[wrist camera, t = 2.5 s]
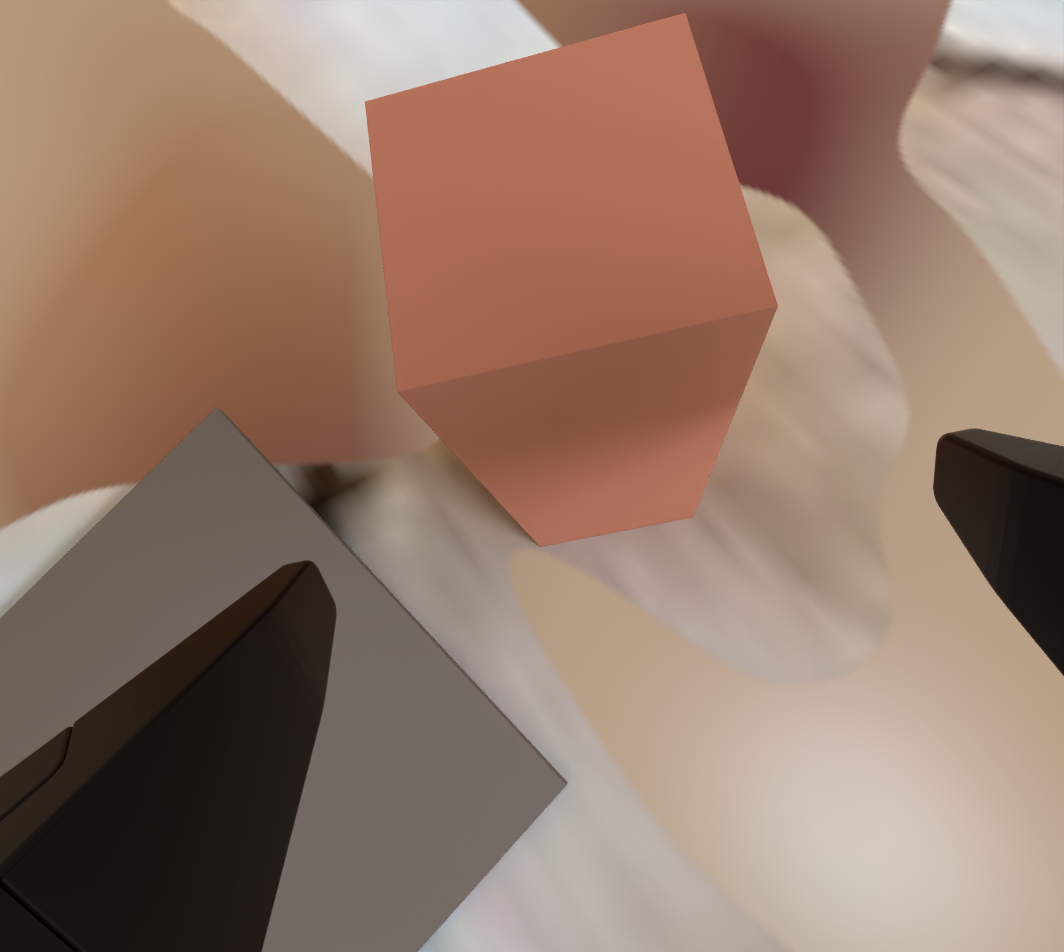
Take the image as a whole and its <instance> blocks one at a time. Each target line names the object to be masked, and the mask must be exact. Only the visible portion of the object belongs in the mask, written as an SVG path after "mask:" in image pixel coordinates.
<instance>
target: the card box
mask: <svg viewBox="0 0 1064 952" xmlns="http://www.w3.org/2000/svg"><path fill="white" fill-rule="evenodd" d="M365 107H366V116H367V125H368V134H369V143H370V152H371V161H372V170H373V179H374V187H375V196H376V206H377V215H378V224H379V232H380V242H381V251H382V259H383V268H384V277H385V286H386V295H387V303H388V313H389V322H390V331H391V340H392V348H393V357H394V367H395V375H396V384H397V392H398V393H399V394H400V395H401V396H402V397H403V399H404V400H405V401H406V402H407V403H408V404H409V405H410V406H411V407H412V408H413V409H414V411H415V412H416V413H417V414H418V415H419V416H420V417H421V418H422V419H423V420H424V421H425V422H426V423H427V425H428V426H429V427H430V428H431V429H432V430H433V431H434V432H435V433H436V434H437V436H438V437H439V438H440V439H441V440H442V441H443V442H444V443H445V444H446V445H447V446H448V447H449V449H450V450H451V451H452V452H453V453H454V454H455V455H456V456H457V457H458V458H459V459H460V460H461V462H462V463H463V464H464V465H465V466H466V467H467V468H468V469H469V470H470V471H471V472H472V474H473V475H474V476H475V477H476V478H477V479H478V480H479V481H480V482H481V483H482V484H483V485H484V487H485V488H486V489H487V490H488V491H489V492H490V493H491V494H492V495H493V496H494V497H495V498H496V500H497V501H498V502H499V503H500V504H501V505H502V506H503V507H504V508H505V509H506V510H507V512H508V513H509V514H510V515H511V516H512V517H513V518H514V519H515V520H516V521H517V522H518V523H519V525H520V526H521V527H522V528H523V529H524V530H525V531H526V532H527V533H528V534H529V535H530V536H531V538H532V539H533V540H534V541H535V542H536V543H537V544H538V545H539V546H540V547H541V546H546V545H551V544H556V543H561V542H567V541H572V540H577V539H582V538H587V537H593V536H598V535H603V534H608V533H613V532H618V531H624V530H629V529H634V528H639V527H644V526H649V525H655V524H660V523H665V522H670V521H675V520H681V519H686V518H691V517H693V515H694V513H695V510H696V508H697V505H698V503H699V500H700V498H701V495H702V493H703V490H704V488H705V485H706V483H707V480H708V478H709V476H710V473H711V471H712V468H713V466H714V463H715V461H716V458H717V456H718V453H719V451H720V448H721V446H722V443H723V441H724V438H725V436H726V433H727V431H728V428H729V426H730V423H731V421H732V419H733V416H734V414H735V411H736V409H737V406H738V404H739V401H740V399H741V396H742V394H743V391H744V389H745V386H746V384H747V381H748V379H749V376H750V374H751V371H752V369H753V366H754V364H755V362H756V359H757V357H758V354H759V352H760V349H761V347H762V344H763V342H764V339H765V337H766V334H767V332H768V329H769V327H770V324H771V322H772V319H773V317H774V314H775V312H776V310H777V307H778V305H777V302H776V299H775V296H774V293H773V289H772V286H771V283H770V280H769V277H768V274H767V270H766V267H765V264H764V261H763V258H762V255H761V251H760V248H759V245H758V242H757V239H756V236H755V232H754V229H753V226H752V223H751V220H750V217H749V213H748V210H747V207H746V204H745V201H744V198H743V194H742V191H741V188H740V185H739V182H738V179H737V175H736V172H735V169H734V166H733V163H732V160H731V157H730V153H729V150H728V147H727V144H726V141H725V137H724V134H723V131H722V128H721V125H720V122H719V119H718V115H717V112H716V109H715V106H714V103H713V100H712V97H711V93H710V90H709V87H708V84H707V81H706V77H705V74H704V71H703V68H702V65H701V62H700V59H699V55H698V52H697V49H696V46H695V43H694V40H693V36H692V33H691V30H690V27H689V24H688V21H687V17H686V14H685V13H683V14H680V15H676V16H673V17H669V18H666V19H662V20H658V21H654V22H651V23H647V24H643V25H640V26H637V27H633V28H629V29H625V30H622V31H618V32H615V33H611V34H607V35H604V36H600V37H597V38H593V39H590V40H586V41H582V42H579V43H575V44H571V45H568V46H564V47H561V48H557V49H553V50H550V51H546V52H543V53H539V54H535V55H532V56H528V57H525V58H521V59H517V60H514V61H510V62H506V63H503V64H499V65H496V66H492V67H488V68H485V69H481V70H478V71H474V72H470V73H467V74H463V75H460V76H456V77H452V78H449V79H445V80H442V81H438V82H434V83H431V84H427V85H424V86H420V87H416V88H413V89H409V90H406V91H402V92H398V93H395V94H391V95H388V96H384V97H380V98H377V99H373V100H369V101H366V102H365Z"/></svg>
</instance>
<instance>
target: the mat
mask: <svg viewBox="0 0 1064 952" xmlns="http://www.w3.org/2000/svg"><path fill="white" fill-rule="evenodd" d="M304 560H310V561H312V562H314V563H315V564H316V565H317V567H318V568H319V570H320V573H321V575H322V577H323V579H324V581H325V583H326V585H327V587H328V589H329V591H330V593H331V595H332V597H333V599H334V601H335V605H336V610H337V617H336V625H335V632H334V640H333V647H332V654H331V662H330V669H329V676H328V684H327V691H326V697H325V703H324V708H323V712H322V716H321V721H320V725H319V729H318V733H317V737H316V741H315V745H314V749H313V752H312V756H311V760H310V764H309V768H308V772H307V776H306V780H305V784H304V788H303V792H302V796H301V800H300V804H299V808H298V812H297V815H296V819H295V823H294V827H293V831H292V835H291V839H290V843H289V847H288V851H287V855H286V859H285V863H284V867H283V871H282V875H281V879H280V882H279V886H278V890H277V894H276V898H275V902H274V906H273V910H272V914H271V918H270V922H269V926H268V930H267V934H266V938H265V942H264V946H263V949H262V952H418V951H419V950H420V948H421V947H422V946H423V945H424V944H425V943H426V942H427V941H428V939H429V938H430V937H431V936H432V935H433V934H434V933H435V932H436V930H437V929H438V928H439V927H440V926H441V925H442V924H443V923H444V922H445V920H446V919H447V918H448V917H449V916H450V915H451V914H452V913H453V911H454V910H455V909H456V908H457V907H458V906H459V905H460V904H461V902H462V901H463V900H464V899H465V898H466V897H467V896H468V895H469V893H470V892H471V891H472V890H473V889H474V888H475V887H476V886H477V885H478V883H479V882H480V881H481V880H482V879H483V878H484V877H485V876H486V874H487V873H488V872H489V871H490V870H491V869H492V868H493V867H494V865H495V864H496V863H497V862H498V861H499V860H500V859H501V858H502V857H503V855H504V854H505V853H506V852H507V851H508V850H509V849H510V848H511V846H512V845H513V844H514V843H515V842H516V841H517V840H518V839H519V837H520V836H521V835H522V834H523V833H524V832H525V831H526V830H527V829H528V827H529V826H530V825H531V824H532V823H533V822H534V821H535V820H536V818H537V817H538V816H539V815H540V814H541V813H542V812H543V811H544V809H545V808H546V807H547V806H548V805H549V804H550V803H551V802H552V800H553V799H554V798H555V797H556V796H557V795H558V794H559V793H560V792H561V790H562V789H563V788H564V787H565V786H566V784H567V781H566V780H565V779H564V778H563V777H562V776H561V775H560V774H559V773H558V772H557V771H556V770H555V769H554V768H553V766H552V765H551V764H550V763H549V762H548V761H547V760H546V759H545V758H544V757H543V756H542V755H541V754H540V752H539V751H538V750H537V749H536V748H535V747H534V746H533V745H532V744H531V743H530V742H529V741H528V740H527V738H526V737H525V736H524V735H523V734H522V733H521V732H520V731H519V730H518V729H517V728H516V727H515V726H514V724H513V723H512V722H511V721H510V720H509V719H508V718H507V717H506V716H505V715H504V714H503V713H502V712H501V710H500V709H499V708H498V707H497V706H496V705H495V704H494V703H493V702H492V701H491V700H490V699H489V698H488V696H487V695H486V694H485V693H484V692H483V691H482V690H481V689H480V688H479V687H478V686H477V685H476V684H475V682H474V681H473V680H472V679H471V678H470V677H469V676H468V675H467V674H466V673H465V672H464V671H463V670H462V668H461V667H460V666H459V665H458V664H457V663H456V662H455V661H454V660H453V659H452V658H451V657H450V656H449V655H448V653H447V652H446V651H445V650H444V649H443V648H442V647H441V646H440V645H439V644H438V643H437V642H436V641H435V639H434V638H433V637H432V636H431V635H430V634H429V633H428V632H427V631H426V630H425V629H424V628H423V627H422V625H421V624H420V623H419V622H418V621H417V620H416V619H415V618H414V617H413V616H412V615H411V614H410V613H409V611H408V610H407V609H406V608H405V607H404V606H403V605H402V604H401V603H400V602H399V601H398V600H397V599H396V597H395V596H394V595H393V594H392V593H391V592H390V591H389V590H388V589H387V588H386V587H385V586H384V585H383V583H382V582H381V581H380V580H379V579H378V578H377V577H376V576H375V575H374V574H373V573H372V572H371V571H370V569H369V568H368V567H367V566H366V565H365V564H364V563H363V562H362V561H361V560H360V559H359V558H358V557H357V555H356V554H355V553H354V552H353V551H352V550H351V549H350V548H349V547H348V546H347V545H346V544H345V543H344V542H343V540H342V539H341V538H340V537H339V536H338V535H337V534H336V533H335V532H334V531H333V530H332V529H331V528H330V526H329V525H328V524H327V523H326V522H325V521H324V520H323V519H322V518H321V517H320V516H319V515H318V514H317V512H316V511H315V510H314V509H313V508H312V507H311V506H310V505H309V504H308V503H307V502H306V501H305V500H304V498H303V497H302V496H301V495H300V494H299V493H298V492H297V491H296V490H295V489H294V488H293V487H292V486H291V484H290V483H289V482H288V481H287V480H286V479H285V478H284V477H283V476H282V475H281V474H280V473H279V472H278V470H277V469H276V468H275V467H274V466H273V465H272V464H271V463H270V462H269V461H268V460H267V459H266V458H265V456H264V455H263V454H262V453H261V452H260V451H259V450H258V449H257V448H256V447H255V446H254V445H253V444H252V443H251V441H250V440H249V439H248V438H247V437H246V436H245V435H244V434H243V433H242V432H241V431H240V430H239V429H238V428H237V426H236V425H235V424H234V423H233V422H232V421H231V420H230V419H229V418H228V417H227V416H226V415H225V413H224V412H223V411H221V410H219V409H218V408H215V409H214V410H213V411H212V412H211V413H210V414H209V415H208V416H207V417H206V418H205V419H204V420H203V421H202V422H201V423H200V424H199V425H198V426H197V427H196V428H195V429H194V430H193V431H191V432H190V433H189V435H188V436H186V437H185V438H184V439H183V440H182V441H181V442H180V443H179V444H178V445H177V446H176V447H175V448H174V449H173V450H172V451H171V452H170V453H169V454H168V455H167V456H166V457H165V458H164V459H163V460H162V461H161V462H160V463H159V464H158V465H157V466H156V467H155V468H154V469H153V470H152V471H151V472H150V473H149V474H148V475H147V476H145V477H144V478H143V479H142V480H141V481H140V482H139V483H138V484H137V485H136V486H135V487H134V488H133V489H132V490H131V491H130V492H129V493H128V494H127V495H126V496H125V497H124V498H123V499H122V500H121V501H120V502H119V503H118V504H117V505H116V506H115V507H114V508H113V509H112V510H111V511H110V512H109V513H108V514H107V515H106V516H105V517H104V518H103V519H102V520H100V521H99V522H98V523H97V524H96V525H95V526H94V527H93V528H92V529H91V530H90V531H89V532H88V533H87V534H86V535H85V536H84V537H83V538H82V539H81V540H80V541H79V542H78V543H77V544H76V545H75V546H74V547H73V548H72V549H71V550H70V551H69V552H68V553H67V554H66V555H65V556H64V557H63V558H62V559H61V560H60V561H59V562H58V563H57V564H55V565H54V566H53V567H52V568H51V569H50V570H49V571H48V572H47V573H46V574H45V575H44V576H43V577H42V578H41V579H40V580H39V581H38V582H37V583H36V584H35V585H34V586H33V587H32V588H31V589H30V590H29V591H28V592H27V593H26V594H25V595H24V596H23V597H22V598H21V599H20V600H19V601H18V602H17V603H16V604H15V605H14V606H13V607H12V608H10V609H9V610H8V611H7V612H6V613H5V614H4V615H3V616H2V617H1V618H0V776H2V775H3V774H5V773H6V772H7V771H9V770H10V769H11V768H13V767H14V766H15V765H17V764H18V763H20V762H21V761H22V760H24V759H25V758H26V757H28V756H29V755H30V754H32V753H33V752H35V751H36V750H37V749H39V748H40V747H41V746H43V745H44V744H45V743H47V742H48V741H49V740H51V739H52V738H53V737H55V736H56V735H57V734H59V733H60V732H61V731H63V730H64V729H65V728H67V727H70V726H71V727H73V724H74V722H75V721H76V720H78V719H79V718H80V717H82V716H83V715H84V714H86V713H87V712H88V711H90V710H91V709H92V708H94V707H95V706H96V705H98V704H99V703H100V702H102V701H103V700H104V699H106V698H107V697H108V696H110V695H111V694H112V693H114V692H115V691H116V690H118V689H119V688H120V687H122V686H123V685H124V684H126V683H127V682H128V681H130V680H131V679H132V678H134V677H135V676H136V675H138V674H139V673H140V672H142V671H143V670H144V669H146V668H147V667H148V666H150V665H151V664H152V663H154V662H155V661H156V660H158V659H159V658H160V657H162V656H163V655H164V654H166V653H167V652H168V651H170V650H171V649H172V648H174V647H175V646H176V645H178V644H179V643H180V642H182V641H183V640H184V639H186V638H187V637H188V636H190V635H191V634H192V633H194V632H195V631H196V630H198V629H199V628H200V627H202V626H203V625H204V624H206V623H207V622H208V621H210V620H211V619H212V618H214V617H215V616H216V615H218V614H219V613H220V612H222V611H223V610H224V609H226V608H227V607H228V606H230V605H231V604H232V603H234V602H235V601H236V600H238V599H239V598H240V597H242V596H243V595H244V594H246V593H247V592H248V591H250V590H251V589H252V588H254V587H255V586H256V585H258V584H259V583H260V582H262V581H263V580H264V579H266V578H267V577H268V576H270V575H271V574H272V573H274V572H275V571H276V570H278V569H279V568H280V567H282V566H283V565H285V564H289V563H294V562H299V561H304Z"/></svg>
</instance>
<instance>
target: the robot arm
mask: <svg viewBox="0 0 1064 952" xmlns="http://www.w3.org/2000/svg"><path fill="white" fill-rule="evenodd" d="M936 449H937V450H936V460H935V472H934V484H933V490H934V495H935V499H936V501H937V503H938V505H939V507H940V508H941V510H942V512H943V513H944V515H945V516H946V518H947V519H948V521H949V522H950V524H951V526H952V527H953V529H954V530H955V532H956V533H957V535H958V536H959V538H960V539H961V541H962V543H963V544H964V546H965V547H966V549H967V550H968V552H969V553H970V555H971V557H972V558H973V559H974V561H975V563H976V564H977V566H978V567H979V569H980V570H981V572H982V574H983V575H984V577H985V578H986V580H987V581H988V582H989V584H990V585H991V587H992V588H993V589H994V591H995V592H996V594H997V595H998V596H999V597H1000V599H1001V600H1002V601H1003V603H1004V604H1005V605H1006V606H1007V608H1008V609H1009V610H1010V611H1011V613H1012V614H1013V615H1014V616H1015V617H1016V619H1017V620H1018V621H1019V622H1020V623H1021V625H1022V626H1023V627H1024V628H1025V629H1026V631H1027V632H1028V633H1029V634H1030V635H1031V637H1032V638H1033V639H1034V640H1035V642H1036V643H1037V644H1038V645H1039V647H1040V648H1041V649H1042V650H1043V651H1044V653H1045V654H1046V655H1047V656H1048V657H1049V659H1050V660H1051V661H1052V662H1053V663H1054V665H1055V666H1056V667H1057V668H1058V670H1059V671H1060V672H1061V673H1062V674H1063V676H1064V447H1063V446H1059V445H1054V444H1049V443H1044V442H1040V441H1035V440H1030V439H1025V438H1020V437H1015V436H1010V435H1006V434H1001V433H996V432H991V431H986V430H981V429H967V430H961V431H956V432H952V433H947V434H944V435H943V436H942V437H941V438H940V439H939V441H938V443H937V448H936ZM336 617H337V610H336V605H335V601H334V599H333V597H332V595H331V593H330V591H329V589H328V587H327V585H326V583H325V581H324V579H323V577H322V575H321V573H320V570H319V568H318V567H317V565H316V564H315V563H314V562H312V561H310V560H304V561H299V562H294V563H289V564H285V565H283V566H282V567H280V568H279V569H278V570H276V571H275V572H274V573H272V574H271V575H270V576H268V577H267V578H266V579H264V580H263V581H262V582H260V583H259V584H258V585H256V586H255V587H254V588H252V589H251V590H250V591H248V592H247V593H246V594H244V595H243V596H242V597H240V598H239V599H238V600H236V601H235V602H234V603H232V604H231V605H230V606H228V607H227V608H226V609H224V610H223V611H222V612H220V613H219V614H218V615H216V616H215V617H214V618H212V619H211V620H210V621H208V622H207V623H206V624H204V625H203V626H202V627H200V628H199V629H198V630H196V631H195V632H194V633H192V634H191V635H190V636H188V637H187V638H186V639H184V640H183V641H182V642H180V643H179V644H178V645H176V646H175V647H174V648H172V649H171V650H170V651H168V652H167V653H166V654H164V655H163V656H162V657H160V658H159V659H158V660H156V661H155V662H154V663H152V664H151V665H150V666H148V667H147V668H146V669H144V670H143V671H142V672H140V673H139V674H138V675H136V676H135V677H134V678H132V679H131V680H130V681H128V682H127V683H126V684H124V685H123V686H122V687H120V688H119V689H118V690H116V691H115V692H114V693H112V694H111V695H110V696H108V697H107V698H106V699H104V700H103V701H102V702H100V703H99V704H98V705H96V706H95V707H94V708H92V709H91V710H90V711H88V712H87V713H86V714H84V715H83V716H82V717H80V718H79V719H78V720H76V721H75V722H74V724H73V727H71V726H70V727H67V728H65V729H64V730H63V731H61V732H60V733H59V734H57V735H56V736H55V737H53V738H52V739H51V740H49V741H48V742H47V743H45V744H44V745H43V746H41V747H40V748H39V749H37V750H36V751H35V752H33V753H32V754H30V755H29V756H28V757H26V758H25V759H24V760H22V761H21V762H20V763H18V764H17V765H15V766H14V767H13V768H11V769H10V770H9V771H7V772H6V773H5V774H3V775H2V776H0V952H262V949H263V946H264V942H265V938H266V934H267V930H268V926H269V922H270V918H271V914H272V910H273V906H274V902H275V898H276V894H277V890H278V886H279V882H280V879H281V875H282V871H283V867H284V863H285V859H286V855H287V851H288V847H289V843H290V839H291V835H292V831H293V827H294V823H295V819H296V815H297V812H298V808H299V804H300V800H301V796H302V792H303V788H304V784H305V780H306V776H307V772H308V768H309V764H310V760H311V756H312V752H313V749H314V745H315V741H316V737H317V733H318V729H319V725H320V721H321V716H322V712H323V708H324V703H325V697H326V691H327V684H328V676H329V669H330V662H331V654H332V647H333V640H334V632H335V625H336Z"/></svg>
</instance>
